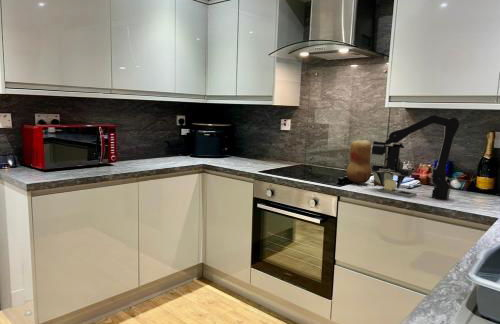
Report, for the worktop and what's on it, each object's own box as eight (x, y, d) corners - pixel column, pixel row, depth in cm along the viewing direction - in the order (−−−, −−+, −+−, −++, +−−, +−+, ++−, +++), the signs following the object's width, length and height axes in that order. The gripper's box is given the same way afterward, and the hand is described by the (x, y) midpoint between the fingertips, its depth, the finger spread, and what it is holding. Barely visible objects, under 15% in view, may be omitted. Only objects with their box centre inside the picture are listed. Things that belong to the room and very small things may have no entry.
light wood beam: (395, 192, 188) (396, 180, 187) (391, 193, 185) (392, 181, 184) (387, 190, 191) (388, 179, 190) (383, 191, 188) (385, 179, 187)
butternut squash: (340, 182, 213) (344, 138, 209) (354, 180, 221) (358, 138, 218) (361, 187, 202) (365, 141, 199) (375, 184, 211) (379, 140, 207)
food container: (397, 189, 202) (399, 170, 201) (392, 190, 198) (394, 171, 197) (377, 184, 211) (378, 167, 210) (371, 185, 207) (373, 168, 206)
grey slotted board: (416, 197, 183) (416, 193, 182) (409, 199, 177) (409, 195, 177) (385, 191, 194) (385, 187, 194) (377, 193, 188) (378, 189, 188)
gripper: (418, 157, 185) (415, 188, 187) (383, 153, 198) (380, 182, 200) (409, 159, 177) (405, 191, 179) (372, 154, 190) (369, 184, 192)
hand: (389, 186), depth 188 cm, fingers open, 8 cm apart
